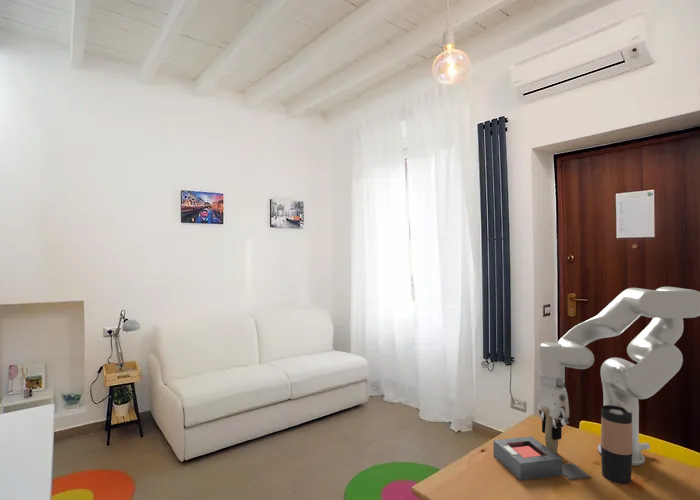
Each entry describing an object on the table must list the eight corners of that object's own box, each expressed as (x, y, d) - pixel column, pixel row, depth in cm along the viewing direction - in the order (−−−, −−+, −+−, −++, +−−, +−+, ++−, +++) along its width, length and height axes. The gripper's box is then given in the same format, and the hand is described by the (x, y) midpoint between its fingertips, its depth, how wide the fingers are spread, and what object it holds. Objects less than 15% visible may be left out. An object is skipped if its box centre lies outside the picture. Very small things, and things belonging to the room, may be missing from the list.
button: (528, 449, 124) (528, 445, 124) (541, 459, 119) (541, 455, 119) (511, 451, 123) (511, 447, 123) (523, 461, 117) (523, 457, 117)
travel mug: (598, 477, 114) (598, 410, 114) (603, 467, 120) (603, 402, 120) (630, 488, 109) (630, 418, 109) (633, 477, 115) (634, 409, 115)
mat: (572, 464, 121) (572, 463, 121) (590, 477, 114) (590, 475, 114) (552, 466, 120) (552, 465, 120) (569, 479, 113) (569, 478, 113)
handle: (565, 456, 126) (565, 410, 126) (545, 456, 126) (545, 410, 126) (557, 448, 131) (557, 404, 131) (538, 448, 131) (538, 404, 131)
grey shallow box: (531, 451, 129) (531, 435, 129) (562, 475, 115) (562, 457, 115) (493, 455, 126) (493, 439, 126) (520, 480, 113) (520, 462, 113)
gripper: (581, 388, 121) (580, 447, 121) (544, 372, 137) (544, 423, 137) (560, 390, 119) (560, 449, 119) (525, 373, 136) (525, 425, 136)
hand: (551, 435), depth 128 cm, fingers closed on handle, 3 cm apart
